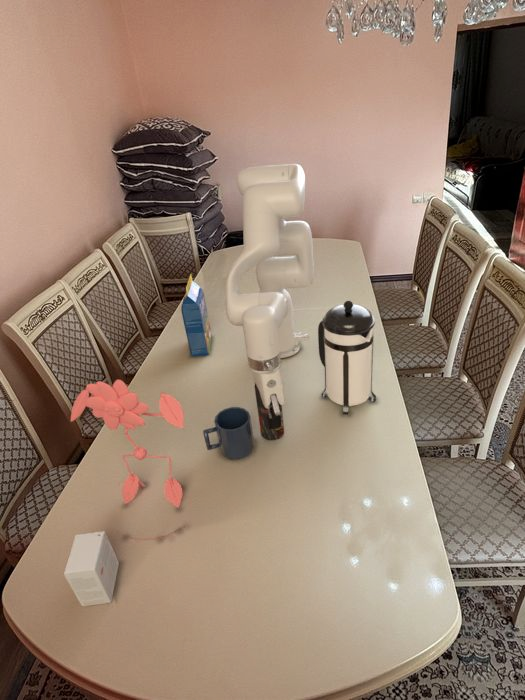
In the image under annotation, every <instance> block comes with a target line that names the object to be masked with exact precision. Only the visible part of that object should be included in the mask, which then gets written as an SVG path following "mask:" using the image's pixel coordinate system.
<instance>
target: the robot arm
mask: <svg viewBox="0 0 525 700" xmlns="http://www.w3.org/2000/svg"><path fill="white" fill-rule="evenodd" d="M236 186H237V188H238V190H239V192H240V195H241V196H242V229H243V230H242V232H243V234H242V235H243V239H242V240H243V248H242V251H241V253H240V254H239V255H238V256H237V257H236V258H235V260H234V261H233V263H232V264H231V266H230V268H229V270H228V273H227V275H226V280H225V314H226V318H227V321H228V322H229V323H230V324H231V325H233V326H236V327H242V329H243V337H244V343H245V344H244V345H245V352H246V358H247V366H248V369H249V370H250V371H252V372H253V373H252V374H253V382H254V384H255V383H256V386H257V388H258V390H259V391H260V395H261V399H262V402H263V405H264V406H265V408H267V411H268V416H267V419H268V427H269V429H270V430H271V429H275V428H278V427H281V426H282V423H281V413H280V409H279V404H278V402H279V403H280V405H282V406H284V405H285V403H286V399H285V393H284V386H283V380H282V376H281V372H280V371H281V370H280V366H281V364H282V359H284V358H289V357H292V356H294V355H296V354H297V353H298V352H299V351H300V349H301V343H302V341H307V340H310V335H309V333H305V334H304V333H303V331H299V332H295V319H294V307H293V306H294V305H293V298H292V296H291V294H290V293H289V291H287V290H288V289H302V288H308V287H310V286H311V285H313V282H314V280H315V264H314V245H313V243H314V242H313V234H312V229H311V227H310V224H309V223H308V222H306V221H304V220H289V221H288V220H287V221H286V219H293V218H298V217H301V216H302V214H303V213H304V209H305V206H306V205H305V204H306V174H305V172H304V169H303V167H302V166H301V164H297V163H285V164H273V165H261V166H260V165H259V166H251V167H246V168H243V169H240V171H238V173H237V175H236ZM253 267H255V276H256V280H257V284H258V287H259V291H260V292H246V293H239V287H240V286H239V285H240V282H241V279H242V278H243V277H244V275H245V274H247V272H248V271H249V270H250V269H252V268H253ZM286 289H287V290H286ZM270 402H271V403H272V404H271V405H270ZM272 407H273V412H271V411H270V408H272Z"/></svg>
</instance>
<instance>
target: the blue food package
mask: <svg viewBox="0 0 525 700" xmlns="http://www.w3.org/2000/svg"><path fill="white" fill-rule="evenodd" d="M186 284H187V285H186V286H185V292H184V293H185V294H184V296H183V299H182V303H181V307H180V309H181V311H180V312H181V316H182V320H183V321H182V322H183V325H184V329H185V334H186V339H187V344H188V349H189V353H190V357H201V356H209V354H210V352H211V346H212V338H213V335H212V331H211V326H210V319H209V314H208V308H207V303H206V297H205V293H204V291H203V288H202V287H201V286H200V285H199V284H198V283H196V282H195V281H194V280H193V276H192V274H190V275H189V277H188V280H187V283H186Z"/></svg>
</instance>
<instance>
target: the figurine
mask: <svg viewBox="0 0 525 700" xmlns="http://www.w3.org/2000/svg"><path fill="white" fill-rule="evenodd" d="M90 394H91V395H92V396H90ZM158 405H159V406H158V407H159V411H160V413H157V412H156V413H155V412H148V411H149V409H150V407H149V406H148V404H146V403H145V402H141V401H139V396H138V394H137V393H135V392H130V390H129V387H128V385H127V384H126V383H125V382H124V381H123V380H122V379H116V380H115V381H114V382H113V384H112V386H111V385H109V384H108V383H106V382H104V381H100V380H98V381H97V382H96V383H87V384H86V388H85V389H83V390H81V392H79V394H78V395H77V397H76V398H75V400H74V402H73V406H72V409H71V414H70V422H74V421H75V420H77V418H79V417H80V416H81V415H82V414H83V412H84V410H85V409H86V408H89V409H92V415H93V416H94V417H95V418H97V419H98V418H99V419H101V418H102V421H103V422H104V424H105V425H106V427H107V428H108V429H109V430H113V431H114V430H117V429H118V428H119V425H121V426H123V427H124V428H125V430H124V436H125V437H126V439H128V440H129V442H130V444H132V446H133V447H134V451H133V454H122V455H121V456H122V459H123V462H124V464H125V466H126V469H127V471H128V473H129V475H128V476H127V478H126V479H125V480H124V481H123V482H124V483H123V485H122V491H121V493H122V500H123V503H124V505H127V504H128V503H130V502H131V501H132V500H133V499H135V498H136V496H137V494H138V491H139V488H140V486H141V487H143V488H145V486H146V484H144V483H143V482H142V481H140V478H139V477H138V474H135V473H132V472H131V469H130V467H129V465H128V462H127V460H126V458H125V457H134V458H135V459H137V460H140V461H141V460H144V459H145V458H156V459H157V458H158V459H168V470H169V478H168V479H167V480H166V481H165V483H164V495H165V498H166V499H167V501H168V502H169V503H170V504H172V505H173V506H174V507H176V508H180V505H181V503H182V502H181V501H182V499H183V488H182V485H181V483H179V481H178V480H177V479H176V478H173V476H172V463H171V457H170V456H166V455H152V454H150V455H149V454H148V450H147V448H146V447H144V446H137V444H136V443H135V442H134V440H133V439H132V438H131V436H130V434H129V433H128V432H129V430H132V431H134V430H135V429H136V427H142V426H143V427H144V426H145V425H146V421H145V419H144V418H143V417H142V416H149V417H150V416H151V417H163V418H164V419H165V420H166V422H167V423H168V424H170V425H172V426H173V427H174V426H175V427H176V428H180V429H184V428H183V427H184V418H185V417H184V416H185V413H184V410H183V408H182V405H181V403H180V402H179V401H178V400H177V399H176V398H175V397H173V396H172V395H171V394H166V393H165V392H160V398H159V401H158ZM140 415H142V416H140ZM117 485H120V483H118V484H117ZM185 527H186V525H184V526H183V527H182V528H180V529H178V530H176V531H173V532H172V533H170V534H167V535H164V536H162V537H160V539H161V540H165V539H167V538H169V536H171V535H173V534H175V533H177V532H179V531H181V530H182V529H184V528H185ZM116 532H117V533H119V534H120V535H122V536H124V537H126V538H128V539H131V540H134V538H133V537H128V536H127V535H124V534H122V533H121V532H119V531H118V530H117V531H116ZM158 539H159V537H156V538H151V539H150V538H148V539H147V541H152V540H158ZM135 540H137V541H135V543H138V541H141V539H137V538H135Z"/></svg>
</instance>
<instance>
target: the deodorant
mask: <svg viewBox="0 0 525 700" xmlns="http://www.w3.org/2000/svg"><path fill="white" fill-rule="evenodd" d="M254 394H255V400H256V409H257V414H258V422H259V430H260V436H261V437H262V438H263V439H264V440H266V441H270V442H271V441H273V442H274V441H277V440H280V439H282V437H283V436H284V435H285V424H284V415H283V405H280V403H279V402H278V404H279V409H280V413H281V423H282V426H281V427H278V428H275V429H271V430H270V429H269V427H268V419H267V416H268V411H267V408H265V406H264V405H263V402H262V399H261V395H260V391H259V390H258V388H257V386H256V383H255V382H254ZM271 404H272V403H271V402H270V405H271ZM270 411H271V412H273V407H272V408H270Z"/></svg>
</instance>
